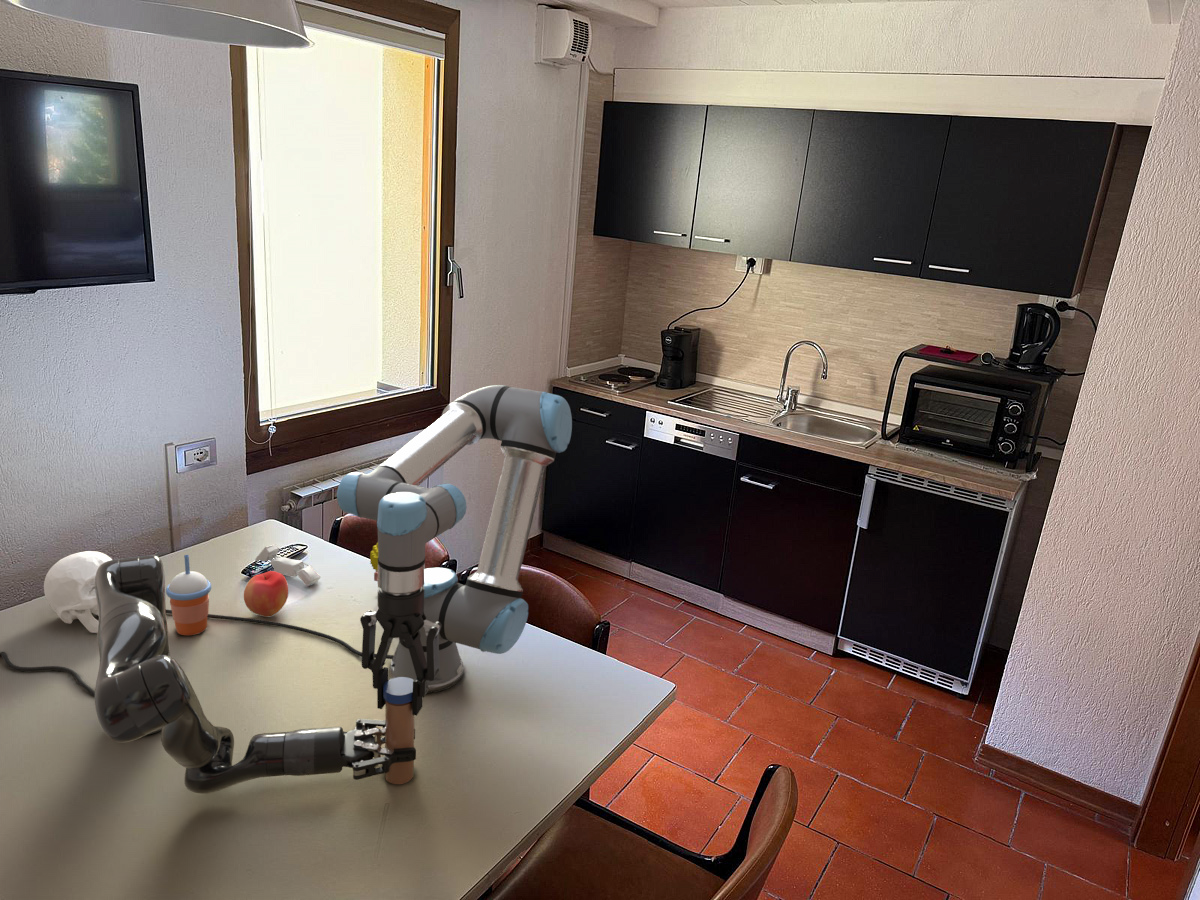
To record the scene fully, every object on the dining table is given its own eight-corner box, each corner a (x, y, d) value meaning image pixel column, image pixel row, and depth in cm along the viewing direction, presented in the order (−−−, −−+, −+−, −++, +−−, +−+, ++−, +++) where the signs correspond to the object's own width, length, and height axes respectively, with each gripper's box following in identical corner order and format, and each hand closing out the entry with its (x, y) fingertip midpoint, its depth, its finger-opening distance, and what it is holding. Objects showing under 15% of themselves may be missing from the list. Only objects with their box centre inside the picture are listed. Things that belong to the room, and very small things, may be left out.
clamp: (253, 565, 223) (254, 542, 221) (265, 560, 226) (266, 537, 224) (309, 593, 215) (310, 569, 213) (320, 588, 218) (321, 564, 216)
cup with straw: (196, 642, 187) (191, 567, 182) (159, 635, 188) (153, 560, 183) (222, 622, 195) (218, 550, 190) (187, 616, 197) (181, 544, 192)
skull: (111, 644, 183) (106, 576, 179) (31, 622, 189) (25, 556, 185) (159, 618, 196) (155, 554, 192) (82, 599, 202) (77, 536, 197)
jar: (416, 781, 150) (417, 696, 145) (387, 786, 148) (388, 700, 143) (410, 763, 154) (412, 680, 149) (383, 768, 153) (383, 684, 147)
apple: (273, 600, 207) (272, 562, 204) (297, 613, 202) (296, 575, 199) (237, 614, 200) (234, 575, 197) (261, 628, 194) (259, 588, 191)
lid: (381, 704, 143) (381, 695, 143) (385, 685, 149) (385, 676, 148) (415, 704, 144) (415, 695, 144) (418, 685, 150) (418, 676, 149)
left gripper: (309, 759, 138) (416, 751, 142) (316, 707, 152) (414, 701, 156) (310, 798, 141) (416, 788, 145) (317, 743, 154) (414, 736, 158)
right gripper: (463, 584, 142) (459, 704, 149) (358, 568, 145) (359, 686, 152) (447, 605, 135) (443, 730, 142) (337, 587, 138) (339, 710, 145)
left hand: (414, 743), depth 150 cm, fingers closed on jar, 5 cm apart
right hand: (400, 707), depth 147 cm, fingers closed on lid, 6 cm apart
